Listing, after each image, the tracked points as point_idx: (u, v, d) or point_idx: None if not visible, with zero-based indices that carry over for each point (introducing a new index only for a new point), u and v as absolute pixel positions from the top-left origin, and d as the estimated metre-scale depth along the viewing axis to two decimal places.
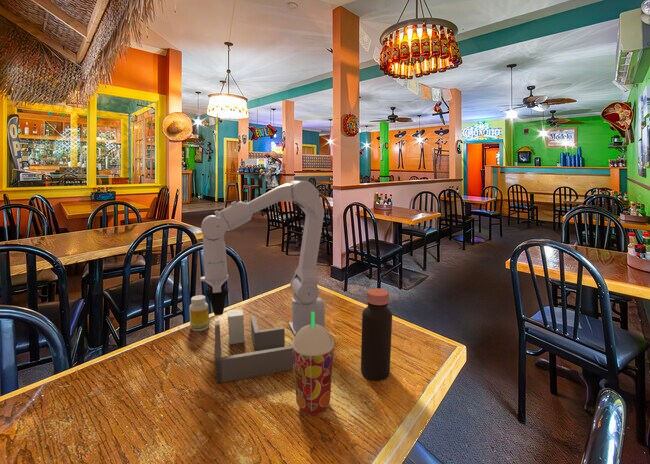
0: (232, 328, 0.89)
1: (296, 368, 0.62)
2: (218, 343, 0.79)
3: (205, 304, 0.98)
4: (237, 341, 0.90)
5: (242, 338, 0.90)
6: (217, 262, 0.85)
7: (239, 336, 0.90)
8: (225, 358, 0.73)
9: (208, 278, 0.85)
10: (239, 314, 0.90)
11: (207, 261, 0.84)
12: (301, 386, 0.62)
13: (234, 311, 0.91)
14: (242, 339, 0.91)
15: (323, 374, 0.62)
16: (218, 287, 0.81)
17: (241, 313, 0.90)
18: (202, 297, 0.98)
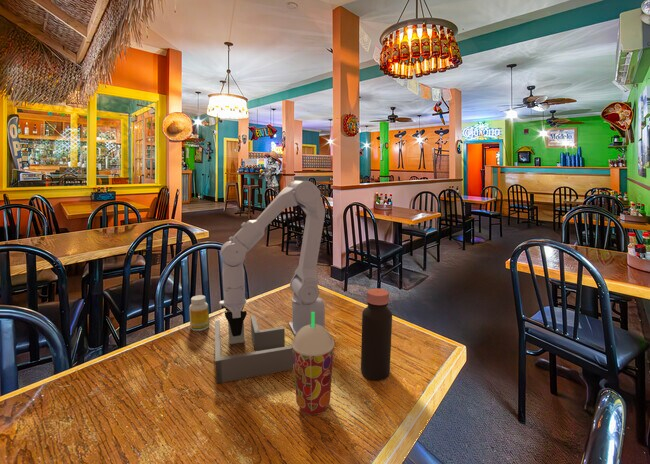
0: None
1: (296, 368, 0.62)
2: (218, 343, 0.79)
3: (205, 304, 0.98)
4: (237, 341, 0.90)
5: (242, 338, 0.90)
6: (236, 287, 0.87)
7: (239, 336, 0.90)
8: (225, 358, 0.73)
9: (227, 303, 0.87)
10: None
11: (227, 286, 0.87)
12: (301, 386, 0.62)
13: None
14: (242, 339, 0.91)
15: (323, 374, 0.62)
16: (238, 313, 0.83)
17: None
18: (202, 297, 0.98)
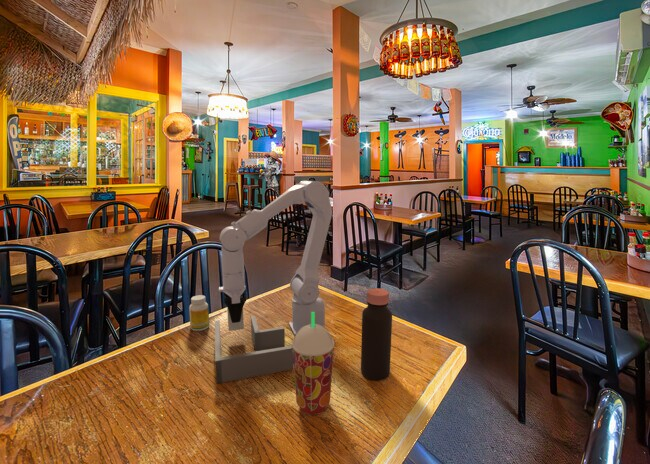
0: None
1: (296, 368, 0.62)
2: (218, 343, 0.79)
3: (205, 304, 0.98)
4: (236, 328, 0.89)
5: (241, 325, 0.90)
6: (236, 273, 0.86)
7: (238, 323, 0.89)
8: (225, 358, 0.73)
9: (226, 289, 0.87)
10: None
11: (226, 272, 0.86)
12: (301, 386, 0.62)
13: None
14: (241, 326, 0.90)
15: (323, 374, 0.62)
16: (237, 298, 0.83)
17: None
18: (202, 297, 0.98)
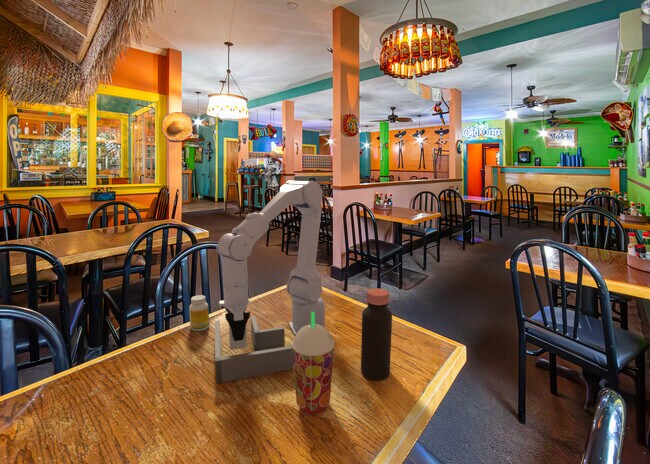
0: None
1: (296, 368, 0.62)
2: (218, 343, 0.79)
3: (205, 304, 0.98)
4: (239, 346, 0.80)
5: (245, 343, 0.80)
6: (238, 285, 0.76)
7: (241, 341, 0.80)
8: (225, 358, 0.73)
9: (228, 303, 0.77)
10: None
11: (233, 285, 0.76)
12: (301, 386, 0.62)
13: None
14: (245, 344, 0.80)
15: (323, 374, 0.62)
16: (240, 314, 0.73)
17: None
18: (202, 297, 0.98)
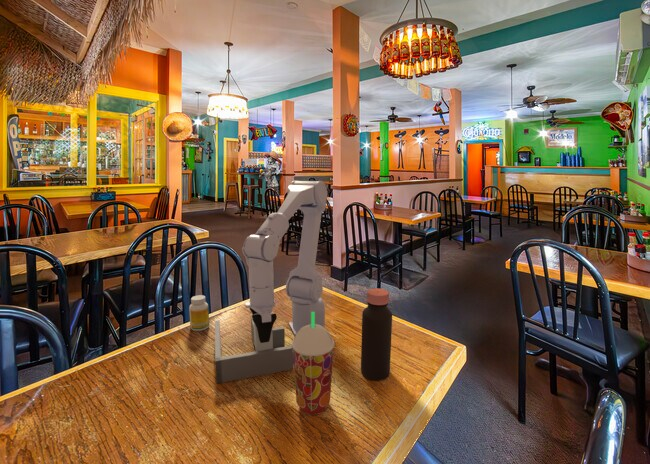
0: None
1: (296, 368, 0.62)
2: (218, 343, 0.79)
3: (205, 304, 0.98)
4: (265, 348, 0.79)
5: (270, 345, 0.79)
6: (265, 287, 0.76)
7: (267, 343, 0.79)
8: (225, 358, 0.73)
9: (254, 304, 0.76)
10: None
11: (263, 286, 0.76)
12: (301, 386, 0.62)
13: None
14: (270, 346, 0.80)
15: (323, 374, 0.62)
16: (268, 316, 0.72)
17: None
18: (202, 297, 0.98)
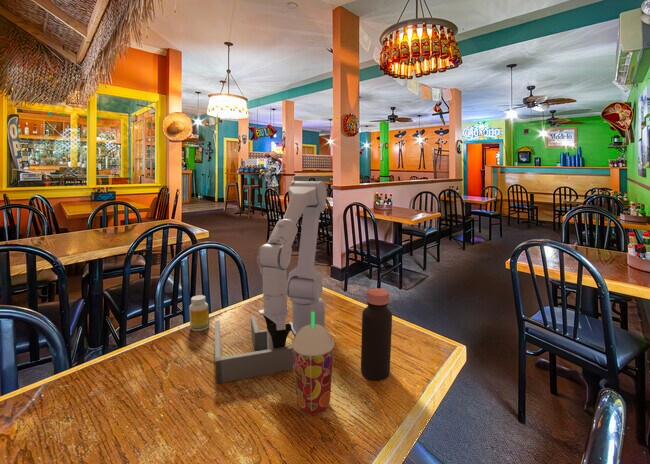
0: (272, 345, 0.80)
1: (296, 368, 0.62)
2: (218, 343, 0.79)
3: (205, 304, 0.98)
4: None
5: None
6: (279, 295, 0.77)
7: None
8: (225, 358, 0.73)
9: (268, 312, 0.78)
10: None
11: (278, 294, 0.77)
12: (301, 386, 0.62)
13: None
14: None
15: (323, 374, 0.62)
16: (283, 324, 0.74)
17: None
18: (202, 297, 0.98)
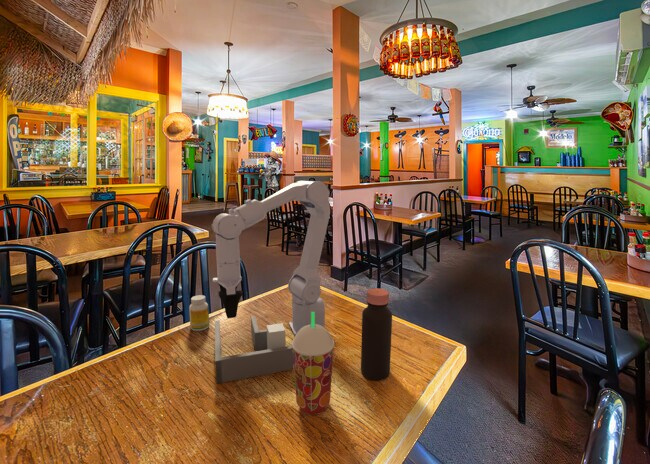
0: (272, 345, 0.80)
1: (296, 368, 0.62)
2: (218, 343, 0.79)
3: (205, 304, 0.98)
4: None
5: None
6: (231, 263, 0.81)
7: None
8: (225, 358, 0.73)
9: (221, 279, 0.81)
10: (281, 329, 0.81)
11: (222, 262, 0.80)
12: (301, 386, 0.62)
13: (274, 326, 0.82)
14: None
15: (323, 374, 0.62)
16: (232, 289, 0.78)
17: (282, 328, 0.81)
18: (202, 297, 0.98)
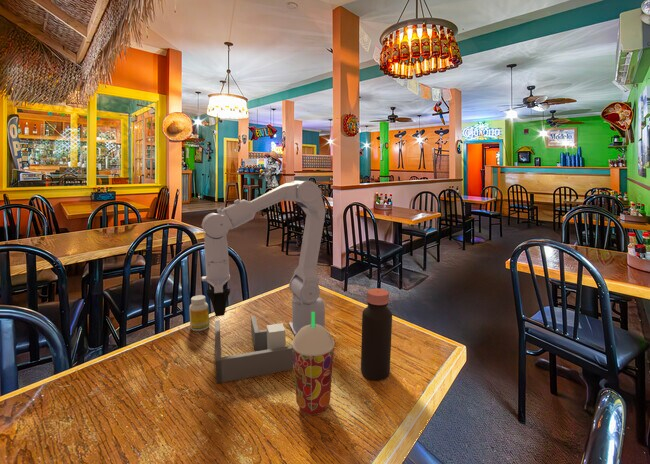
0: (272, 345, 0.80)
1: (296, 368, 0.62)
2: (218, 343, 0.79)
3: (205, 304, 0.98)
4: None
5: None
6: (219, 261, 0.82)
7: None
8: (225, 358, 0.73)
9: (209, 278, 0.83)
10: (281, 329, 0.81)
11: (209, 260, 0.82)
12: (301, 386, 0.62)
13: (274, 326, 0.82)
14: None
15: (323, 374, 0.62)
16: (220, 287, 0.79)
17: (282, 328, 0.81)
18: (202, 297, 0.98)
